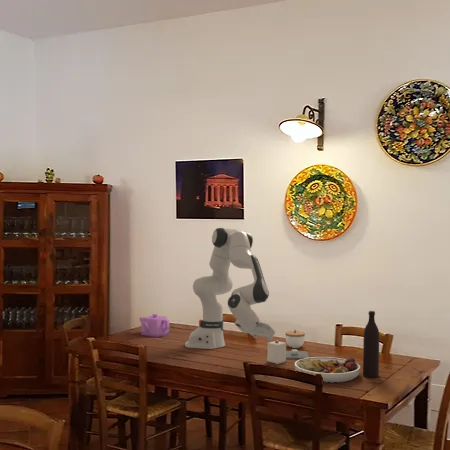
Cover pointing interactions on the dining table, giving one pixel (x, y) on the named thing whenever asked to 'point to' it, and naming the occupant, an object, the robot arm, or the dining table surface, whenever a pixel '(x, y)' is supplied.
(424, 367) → the dining table surface
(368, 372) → the wine bottle
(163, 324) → the teakettle
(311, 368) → the bowl
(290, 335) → the lidded jar
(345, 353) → the dining table surface
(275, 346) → the white square canister
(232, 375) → the dining table surface
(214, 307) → the robot arm
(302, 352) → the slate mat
